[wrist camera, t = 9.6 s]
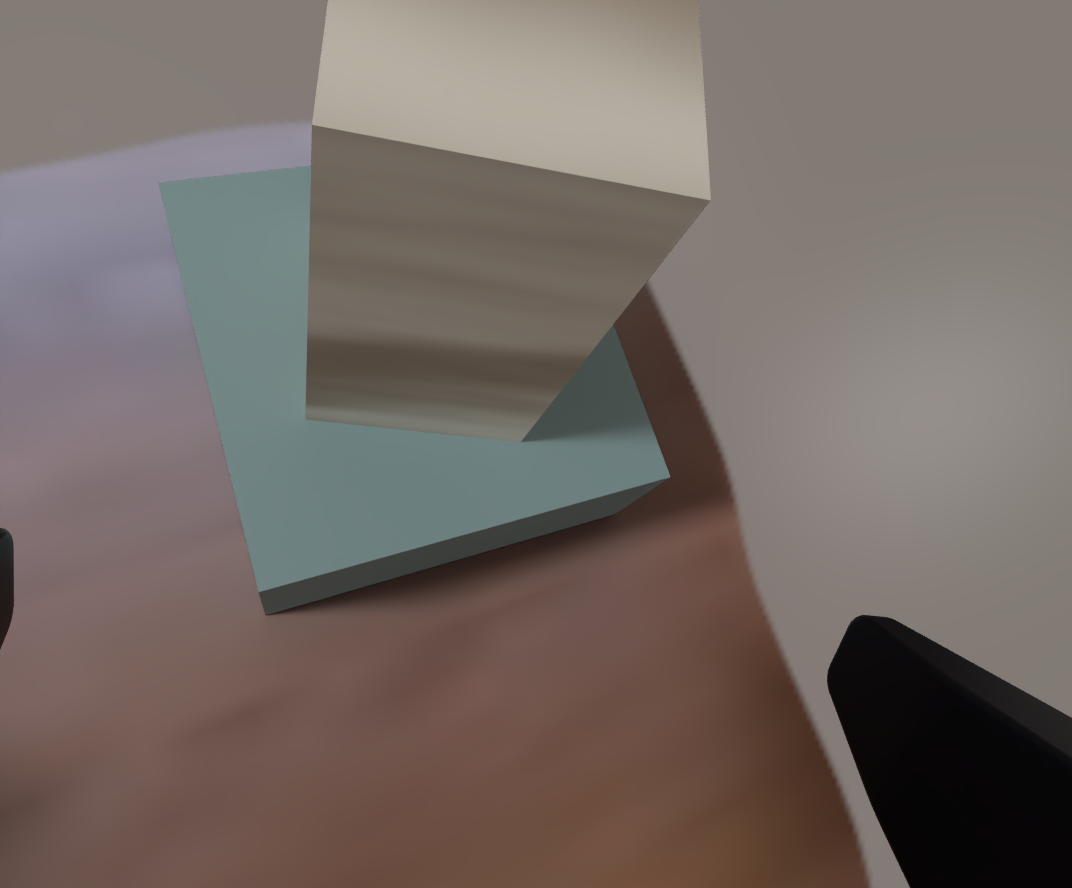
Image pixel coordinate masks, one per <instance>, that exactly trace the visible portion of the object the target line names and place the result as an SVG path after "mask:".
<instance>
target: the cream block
mask: <svg viewBox="0 0 1072 888" xmlns="http://www.w3.org/2000/svg"><path fill="white" fill-rule="evenodd" d="M706 133H707V132H706V116H705V99H704V84H703V66H702V51H701V34H700V17H699V2H698V0H328V5H327V13H326V21H325V28H324V37H323V44H322V52H321V60H320V67H319V75H318V83H317V91H316V98H315V106H314V114H313V121H312V150H311V193H310V236H309V279H308V322H307V365H306V409H305V420H314V421H323V422H333V423H342V424H352V425H361V426H371V427H380V428H390V429H399V430H409V431H418V432H428V433H437V434H447V435H456V436H466V437H475V438H485V439H494V440H504V441H513V442H521V441H522V440H523V438H524V437H525V436H526V435H527V433H528V432H529V431H530V429H531V428H532V427H533V426H534V424H535V423H536V422H537V421H538V419H539V418H540V417H541V416H542V414H543V413H544V412H545V410H546V409H547V408H548V407H549V405H550V404H551V403H552V402H553V400H554V399H555V398H556V396H557V395H558V394H559V393H560V391H561V390H562V389H563V388H564V386H565V385H566V384H567V382H568V381H569V380H570V379H571V377H572V376H573V375H574V374H575V372H576V371H577V370H578V368H579V367H580V366H581V365H582V363H583V362H584V361H585V360H586V358H587V357H588V356H589V354H590V353H591V352H592V351H593V349H594V348H595V347H596V346H597V344H598V343H599V342H600V341H601V339H602V338H603V337H604V335H605V334H606V333H607V332H608V330H609V329H610V328H611V327H612V325H613V324H614V323H615V321H616V320H617V319H618V318H619V316H620V315H621V314H622V313H623V311H624V310H625V309H626V307H627V306H628V305H629V304H630V302H631V301H632V300H633V299H634V297H635V296H636V295H637V293H638V292H639V291H640V290H641V288H642V287H643V286H644V285H645V283H646V282H647V281H648V279H649V278H650V277H651V276H652V274H653V273H654V272H655V271H656V269H657V268H658V267H659V265H660V264H661V263H662V262H663V260H664V259H665V258H666V257H667V255H668V254H669V253H670V252H671V250H672V249H673V248H674V246H675V245H676V244H677V243H678V241H679V240H680V239H681V238H682V236H683V235H684V234H685V232H686V231H687V230H688V228H689V227H690V226H691V225H692V224H693V222H694V221H695V220H696V218H697V217H698V216H699V215H700V213H701V212H702V211H703V210H704V208H705V207H706V206H707V204H708V203H709V202H710V200H711V197H710V181H709V165H708V148H707V134H706Z"/></svg>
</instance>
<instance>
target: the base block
mask: <svg viewBox="0 0 1072 888" xmlns="http://www.w3.org/2000/svg"><path fill="white" fill-rule="evenodd" d="M158 184H159V188H160V192H161V196H162V200H163V204H164V208H165V212H166V217H167V221H168V225H169V229H170V233H171V237H172V241H173V245H174V249H175V253H176V257H177V261H178V265H179V270H180V274H181V278H182V282H183V286H184V290H185V294H186V298H187V302H188V306H189V310H190V314H191V318H192V322H193V327H194V331H195V335H196V339H197V343H198V347H199V351H200V355H201V359H202V363H203V367H204V371H205V375H206V379H207V384H208V388H209V392H210V396H211V400H212V404H213V408H214V412H215V416H216V420H217V424H218V428H219V432H220V436H221V441H222V445H223V449H224V453H225V457H226V461H227V465H228V469H229V473H230V477H231V481H232V485H233V489H234V494H235V498H236V502H237V506H238V510H239V514H240V518H241V522H242V526H243V530H244V534H245V538H246V542H247V546H248V551H249V555H250V559H251V563H252V567H253V571H254V575H255V579H256V583H257V587H258V591H259V595H260V598H261V602H262V605H263V608H264V612H265V615H269V614H272V613H276V612H279V611H283V610H286V609H290V608H293V607H296V606H300V605H303V604H307V603H310V602H314V601H317V600H321V599H324V598H328V597H331V596H334V595H338V594H341V593H345V592H348V591H352V590H355V589H359V588H362V587H366V586H369V585H372V584H376V583H379V582H383V581H386V580H390V579H393V578H397V577H400V576H404V575H407V574H410V573H414V572H417V571H421V570H424V569H428V568H431V567H435V566H438V565H442V564H445V563H448V562H452V561H455V560H459V559H462V558H466V557H469V556H473V555H476V554H480V553H483V552H486V551H490V550H493V549H497V548H500V547H504V546H507V545H511V544H514V543H518V542H521V541H524V540H528V539H531V538H535V537H538V536H542V535H545V534H549V533H552V532H556V531H559V530H562V529H566V528H569V527H573V526H576V525H580V524H583V523H587V522H590V521H594V520H597V519H601V518H604V517H607V516H611V515H614V514H616V513H617V512H619V511H620V510H622V509H623V508H625V507H626V506H628V505H629V504H631V503H632V502H634V501H635V500H637V499H638V498H640V497H641V496H643V495H645V494H646V493H648V492H649V491H651V490H652V489H654V488H655V487H657V486H658V485H660V484H661V483H663V482H664V481H666V480H667V479H669V478H670V474H669V471H668V469H667V466H666V463H665V461H664V458H663V455H662V453H661V450H660V447H659V445H658V442H657V439H656V437H655V434H654V431H653V429H652V426H651V423H650V420H649V418H648V415H647V412H646V410H645V407H644V404H643V402H642V399H641V396H640V394H639V391H638V388H637V386H636V383H635V380H634V378H633V375H632V372H631V370H630V367H629V364H628V362H627V359H626V356H625V354H624V351H623V348H622V346H621V343H620V340H619V338H618V335H617V332H616V330H615V327H614V324H613V325H612V327H611V328H610V329H609V330H608V332H607V333H606V334H605V335H604V337H603V338H602V339H601V341H600V342H599V343H598V344H597V346H596V347H595V348H594V349H593V351H592V352H591V353H590V354H589V356H588V357H587V358H586V360H585V361H584V362H583V363H582V365H581V366H580V367H579V368H578V370H577V371H576V372H575V374H574V375H573V376H572V377H571V379H570V380H569V381H568V382H567V384H566V385H565V386H564V388H563V389H562V390H561V391H560V393H559V394H558V395H557V396H556V398H555V399H554V400H553V402H552V403H551V404H550V405H549V407H548V408H547V409H546V410H545V412H544V413H543V414H542V416H541V417H540V418H539V419H538V421H537V422H536V423H535V424H534V426H533V427H532V428H531V429H530V431H529V432H528V433H527V435H526V436H525V437H524V438H523V440H522V441H521V442H513V441H504V440H494V439H485V438H475V437H466V436H456V435H447V434H437V433H428V432H418V431H409V430H399V429H390V428H380V427H371V426H361V425H352V424H342V423H333V422H323V421H314V420H305V409H306V365H307V322H308V279H309V236H310V193H311V166H305V167H296V168H287V169H278V170H268V171H259V172H250V173H241V174H232V175H223V176H214V177H205V178H196V179H187V180H178V181H169V182H160V183H158Z"/></svg>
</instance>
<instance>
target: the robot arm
mask: <svg viewBox="0 0 1072 888" xmlns="http://www.w3.org/2000/svg"><path fill="white" fill-rule="evenodd" d="M13 607H14V547H13V540H12V536H11V534H10V533H9V532H8V531H7V530H6V529H3V528H0V649H1V646H2V644H3V642H4V639H5V637H6V634H7V632H8V629H9V626H10V623H11V619H12V614H13ZM827 684H828V689H829V693H830V695H831V698H832V701H833V703H834V706H835V709H836V712H837V714H838V717H839V719H840V722H841V725H842V728H843V730H844V733H845V736H846V739H847V741H848V744H849V746H850V749H851V752H852V755H853V758H854V760H855V763H856V766H857V769H858V771H859V774H860V777H861V779H862V782H863V784H864V787H865V790H866V793H867V795H868V797H869V800H870V802H871V805H872V807H873V810H874V812H875V814H876V817H877V819H878V821H879V823H880V825H881V828H882V830H883V832H884V834H885V836H886V838H887V840H888V842H889V844H890V847H891V849H892V851H893V853H894V855H895V857H896V859H897V861H898V863H899V866H900V868H901V870H902V872H903V874H904V876H905V878H906V880H907V882H908V884H909V886H910V888H1072V718H1071V717H1069V716H1067V715H1066V714H1064V713H1062V712H1060V711H1059V710H1057V709H1055V708H1053V707H1051V706H1049V705H1047V704H1046V703H1044V702H1042V701H1041V700H1039V699H1037V698H1035V697H1033V696H1031V695H1030V694H1028V693H1026V692H1024V691H1022V690H1021V689H1019V688H1017V687H1015V686H1013V685H1011V684H1010V683H1008V682H1006V681H1004V680H1002V679H1001V678H999V677H997V676H995V675H993V674H992V673H990V672H988V671H986V670H984V669H983V668H981V667H979V666H977V665H975V664H974V663H972V662H970V661H968V660H966V659H964V658H963V657H961V656H959V655H957V654H955V653H954V652H952V651H950V650H948V649H947V648H945V647H943V646H941V645H939V644H938V643H936V642H934V641H932V640H930V639H928V638H927V637H925V636H923V635H921V634H919V633H918V632H915V631H914V630H912V629H910V628H908V627H907V626H905V625H903V624H901V623H900V622H898V621H896V620H894V619H891V618H888V617H880V616H869V615H861V616H858V617H856V618H855V619H854V620H853V621H852V622H851V623H850V625H849V626H848V628H847V631H846V633H845V635H844V637H843V639H842V641H841V643H840V645H839V648H838V649H837V652H836V654H835V656H834V658H833V660H832V662H831V664H830V667H829V669H828V675H827Z"/></svg>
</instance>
